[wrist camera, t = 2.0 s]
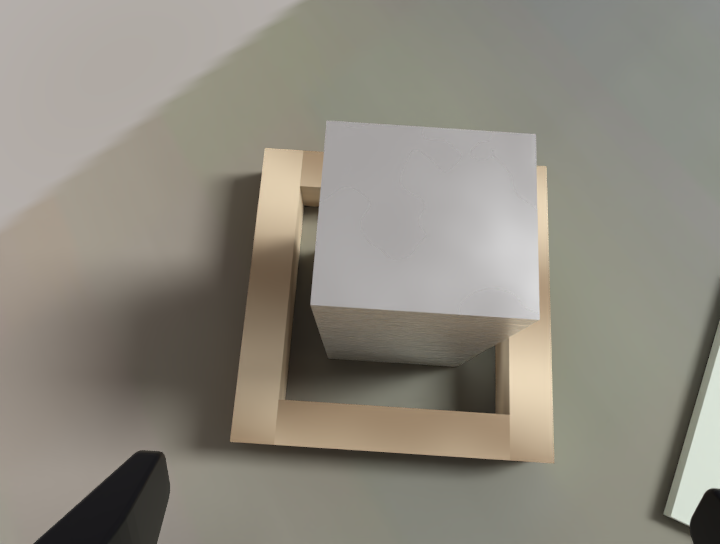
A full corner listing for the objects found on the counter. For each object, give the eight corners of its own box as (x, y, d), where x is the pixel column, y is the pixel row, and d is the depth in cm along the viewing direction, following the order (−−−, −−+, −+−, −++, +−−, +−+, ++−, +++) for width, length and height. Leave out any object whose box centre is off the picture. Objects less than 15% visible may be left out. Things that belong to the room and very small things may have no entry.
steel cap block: (456, 366, 22) (539, 320, 12) (328, 358, 22) (310, 304, 12) (458, 256, 23) (535, 134, 13) (336, 248, 23) (326, 120, 13)
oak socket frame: (535, 460, 21) (554, 463, 19) (240, 440, 21) (229, 441, 19) (530, 187, 24) (546, 166, 22) (271, 170, 24) (265, 148, 22)
